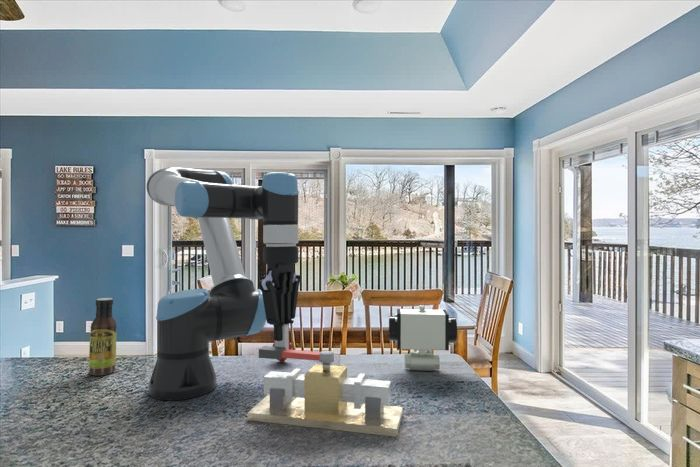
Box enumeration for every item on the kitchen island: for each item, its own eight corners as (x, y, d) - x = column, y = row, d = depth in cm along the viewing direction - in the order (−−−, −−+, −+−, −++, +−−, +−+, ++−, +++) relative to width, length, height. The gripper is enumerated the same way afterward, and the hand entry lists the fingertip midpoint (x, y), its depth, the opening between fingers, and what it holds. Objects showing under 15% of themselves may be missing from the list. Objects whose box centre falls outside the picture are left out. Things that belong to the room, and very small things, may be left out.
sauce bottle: (85, 377, 109) (85, 301, 109) (93, 370, 115) (93, 297, 115) (112, 375, 111) (112, 300, 111) (119, 368, 117) (119, 296, 117)
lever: (335, 359, 87) (335, 351, 87) (331, 364, 84) (331, 355, 84) (264, 354, 91) (264, 345, 91) (258, 358, 88) (258, 349, 88)
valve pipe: (247, 420, 85) (247, 364, 85) (268, 400, 94) (268, 350, 94) (396, 436, 78) (396, 376, 78) (402, 414, 87) (402, 360, 87)
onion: (282, 366, 118) (282, 338, 118) (267, 363, 122) (267, 335, 122) (295, 361, 123) (295, 333, 123) (281, 358, 126) (281, 331, 126)
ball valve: (452, 365, 120) (452, 303, 119) (457, 375, 111) (457, 308, 111) (389, 363, 121) (389, 301, 121) (388, 373, 113) (388, 307, 113)
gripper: (283, 244, 98) (284, 345, 98) (247, 246, 86) (248, 360, 87) (311, 244, 95) (311, 348, 95) (278, 246, 83) (278, 365, 83)
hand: (281, 354), depth 91 cm, fingers closed
